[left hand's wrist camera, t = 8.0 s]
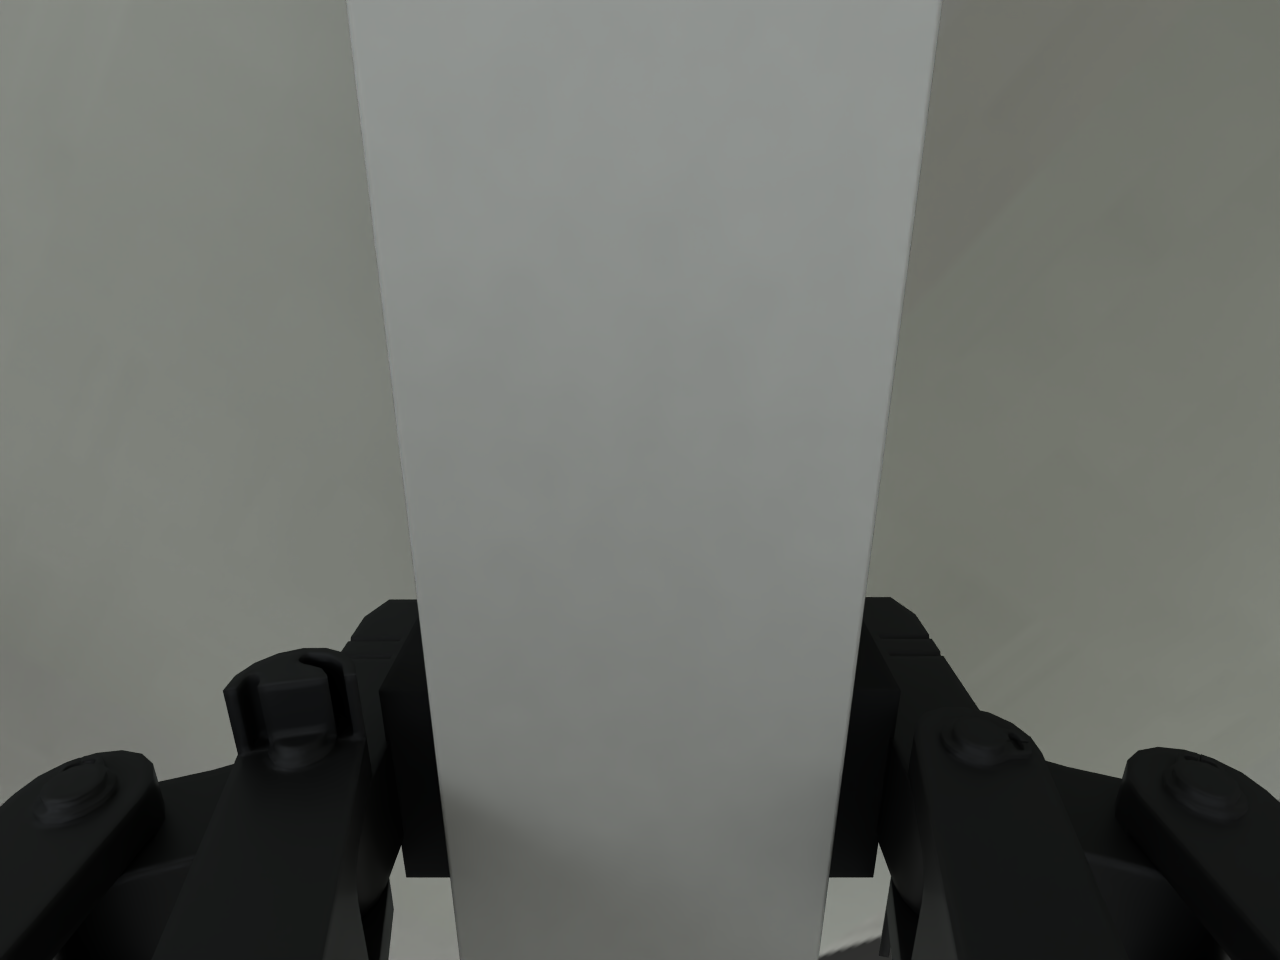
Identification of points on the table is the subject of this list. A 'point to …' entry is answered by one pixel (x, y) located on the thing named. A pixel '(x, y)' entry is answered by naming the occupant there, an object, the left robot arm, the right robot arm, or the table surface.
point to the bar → (641, 439)
